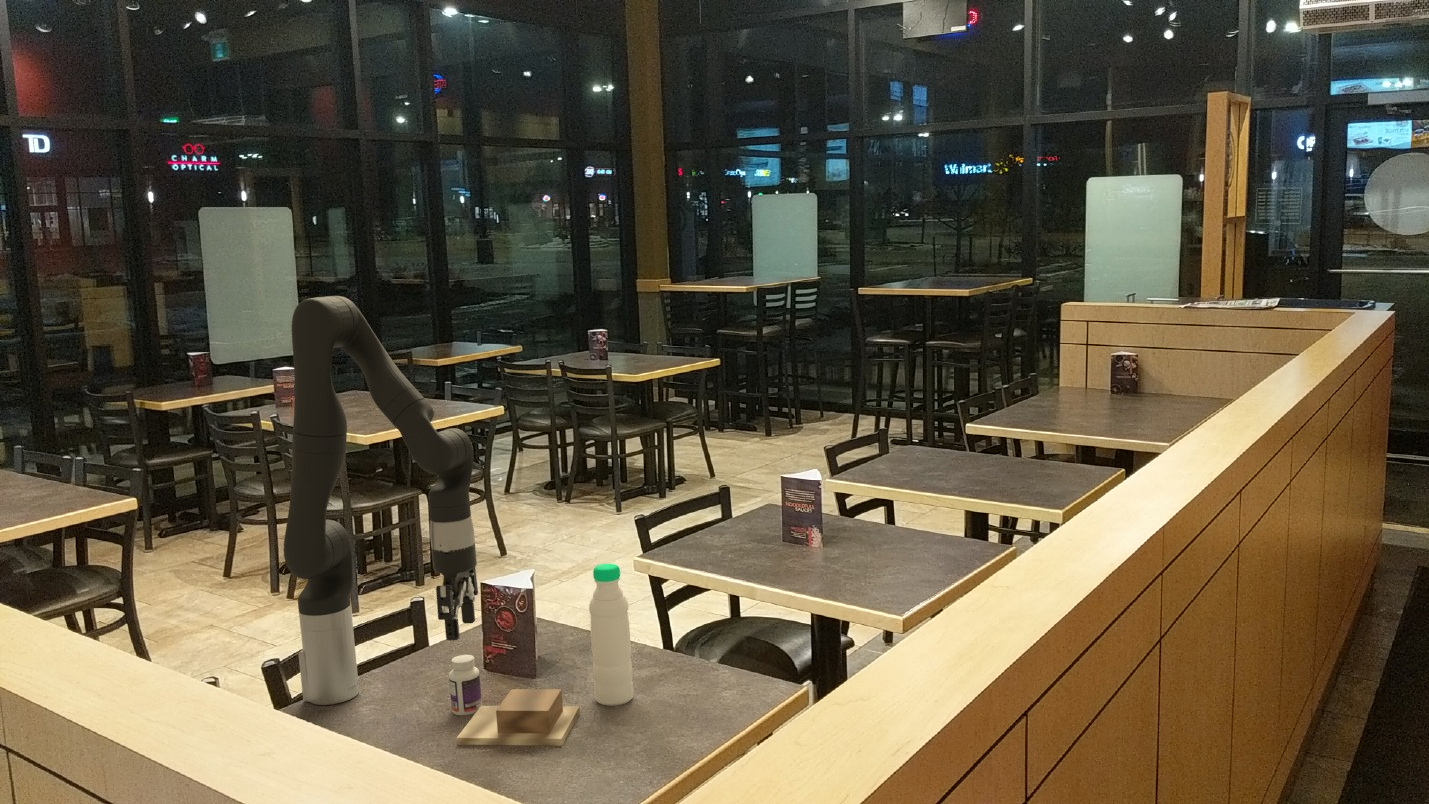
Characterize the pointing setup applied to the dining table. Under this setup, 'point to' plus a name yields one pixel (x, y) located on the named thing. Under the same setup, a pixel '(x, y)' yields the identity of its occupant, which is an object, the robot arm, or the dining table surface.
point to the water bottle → (610, 638)
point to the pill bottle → (464, 686)
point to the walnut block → (529, 711)
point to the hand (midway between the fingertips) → (461, 631)
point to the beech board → (486, 733)
